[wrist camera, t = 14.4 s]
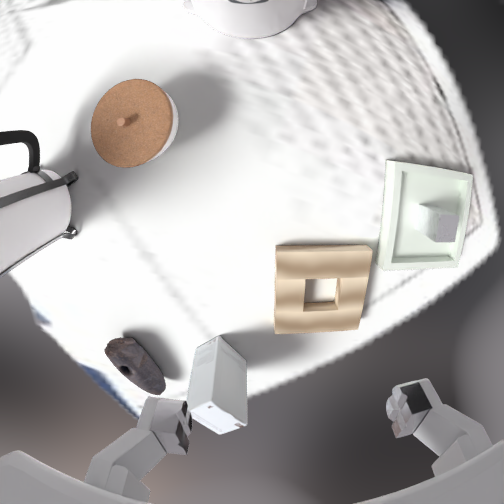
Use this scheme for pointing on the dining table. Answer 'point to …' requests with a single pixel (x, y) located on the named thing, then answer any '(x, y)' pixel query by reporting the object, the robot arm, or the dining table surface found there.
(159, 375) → the perforated stone tool
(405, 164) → the tray
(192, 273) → the dining table surface
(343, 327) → the socket block
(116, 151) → the lidded jar
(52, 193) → the coffee press
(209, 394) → the skincare box
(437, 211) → the pin
